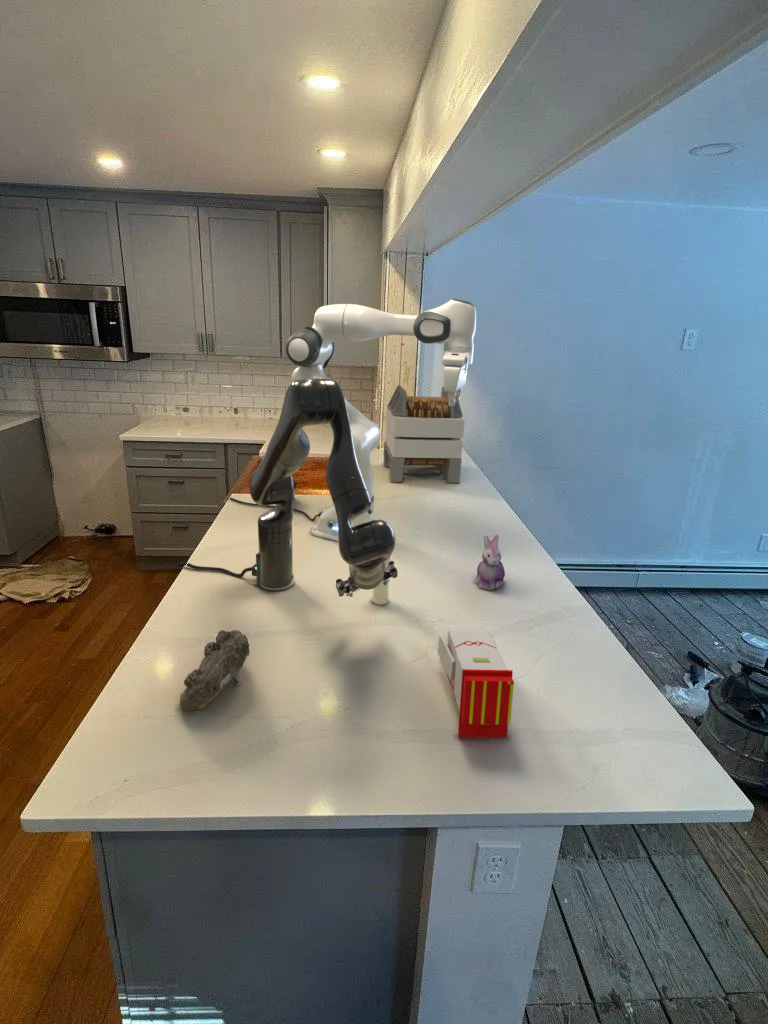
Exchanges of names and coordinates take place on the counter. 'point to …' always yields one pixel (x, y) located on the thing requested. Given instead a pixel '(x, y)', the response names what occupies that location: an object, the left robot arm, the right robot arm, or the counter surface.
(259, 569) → the left robot arm
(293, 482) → the figurine character
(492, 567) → the figurine
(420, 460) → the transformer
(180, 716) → the counter surface
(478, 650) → the toy
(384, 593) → the cream cylinder
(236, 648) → the fossil
